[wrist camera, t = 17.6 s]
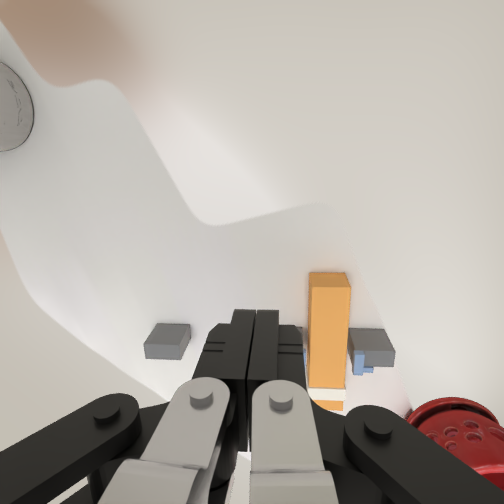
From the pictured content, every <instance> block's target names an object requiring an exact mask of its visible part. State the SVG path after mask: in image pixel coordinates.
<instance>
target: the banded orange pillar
mask: <svg viewBox="0 0 504 504" xmlns="http://www.w3.org/2000/svg"><path fill="white" fill-rule="evenodd" d="M350 295H351V286H350V284H349V282H348V279H347V277H346V275H345V273H309V307H308V346H307V365H306V387H307V392H308V394H309V396H310V397H311V399H312V400H313V401H314V402H315V403H316V404H317V405H319V406H320V407H322V408H323V409H326V410H339V411H343V401H345V396H346V388H345V384H344V383H345V368H346V354H347V339H348V324H349V310H350Z"/></svg>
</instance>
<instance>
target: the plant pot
mask: <svg viewBox="0 0 504 504" xmlns="http://www.w3.org/2000/svg"><path fill="white" fill-rule="evenodd" d="M407 422H408V423H410V424H411V425H412V426H414V427H415V428H417V429H418V430H419V431H421V432H422V433H424V434H425V435H426V436H428V437H429V438H430V439H432V440H433V441H435V442H436V443H437V444H439V445H440V446H442V447H443V448H444V449H446V450H447V451H449V452H450V453H451V454H453V455H454V456H455V457H457V458H458V459H460V460H461V461H462V462H464V463H465V464H467V465H468V466H469V467H471V468H472V469H474V470H475V471H476V472H478V473H479V474H481V475H482V476H483V477H485V478H486V479H487V480H489V481H490V482H492V483H493V484H494V485H496V486H497V487H499V488H500V489H501V490H503V491H504V428H503V427H501V426H500V425H499V423H498V420H497V419H496V417H495V416H494V415H493V414H492V413H491V412H490V411H489V410H488V409H487V408H485V407H484V406H482V405H480V404H479V403H477V402H474V401H471V400H468V399H464V398H458V397H446V398H439V399H435V400H432V401H429V402H427V403H425V404H423V405H421V406H420V407H418V408H417V409H416V410H415V411H414V412H413V413H412V414H411V415H410V416H409V418H408V419H407Z"/></svg>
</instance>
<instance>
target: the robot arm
mask: <svg viewBox="0 0 504 504" xmlns="http://www.w3.org/2000/svg"><path fill="white" fill-rule="evenodd" d="M32 124H33V109H32V103H31V100H30V96H29V94H28V92H27V90H26V88H25V86H24V84H23V83H22V81H21V80H20V78H19V77H18V76H17V75H16V74H15V73H14V72H13V71H12V70H11V69H10V68H9V67H7V66H6V65H4V64H3V63H1V62H0V151H7V150H11V149H14V148H16V147H18V146H19V145H21V144H22V143H23V142H24V141H25V140H26V138H27V137H28V135H29V133H30V131H31V127H32ZM248 440H249V446H250V452H251V471H250V501H249V502H250V503H249V504H504V491H503V490H501V489H500V488H499V487H497V486H496V485H494V484H493V483H492V482H490V481H489V480H487V479H486V478H485V477H483V476H482V475H481V474H479V473H478V472H476V471H475V470H474V469H472V468H471V467H469V466H468V465H467V464H465V463H464V462H462V461H461V460H460V459H458V458H457V457H455V456H454V455H453V454H451V453H450V452H449V451H447V450H446V449H444V448H443V447H442V446H440V445H439V444H437V443H436V442H435V441H433V440H432V439H430V438H429V437H428V436H426V435H425V434H424V433H422V432H421V431H419V430H418V429H417V428H415V427H414V426H412V425H411V424H410V423H408V422H407V421H405V420H404V419H403V418H401V417H400V416H398V415H397V414H395V413H394V412H392V411H390V410H388V409H386V408H383V407H379V406H374V405H363V406H358V407H356V408H354V409H352V410H351V411H349V412H348V414H347V415H346V416H343V415H339V414H336V413H333V412H330V411H328V410H326V409H323V408H322V407H320V406H319V405H317V404H316V403H315V402H314V401H313V400H312V399H311V397H310V396H309V394H308V392H307V387H306V376H305V365H304V355H303V344H302V334H301V333H300V331H299V330H298V329H297V328H296V326H295V325H279V310H257V314H256V310H245V309H235V310H234V313H233V316H232V320H231V324H221V323H219V324H217V325H216V326H215V327H214V328H213V329H212V330H211V331H210V332H209V334H208V337H207V339H206V343H205V345H204V348H203V352H202V353H201V356H200V358H199V361H198V364H197V366H196V369H195V372H194V374H193V377H192V380H190V381H188V382H186V383H184V384H183V385H181V386H180V387H179V388H178V389H177V390H176V392H175V394H174V395H173V397H172V399H171V401H170V402H167V403H164V404H160V405H156V406H152V407H146V408H141V409H139V405H138V402H137V400H136V399H135V398H134V397H132V396H130V395H128V394H122V393H117V394H109V395H106V396H103V397H100V398H98V399H96V400H94V401H92V402H90V403H88V404H87V405H85V406H83V407H81V408H79V409H78V410H76V411H74V412H72V413H70V414H69V415H67V416H65V417H63V418H61V419H59V420H58V421H56V422H54V423H52V424H50V425H48V426H47V427H45V428H43V429H41V430H39V431H38V432H36V433H34V434H32V435H30V436H28V437H27V438H25V439H23V440H21V441H19V442H18V443H16V444H14V445H12V446H10V447H9V448H7V449H5V450H3V451H1V452H0V504H47V503H48V502H50V501H51V500H53V499H54V498H55V497H57V496H58V495H60V494H61V493H63V492H64V491H66V490H67V489H69V488H70V487H71V486H73V485H74V484H76V483H77V482H79V481H80V480H81V479H83V478H85V477H86V476H87V480H88V484H87V485H85V486H84V487H83V488H81V489H80V490H79V491H77V492H76V493H74V494H73V495H71V496H70V497H69V498H67V499H66V500H64V501H63V502H62V503H60V504H229V501H230V497H231V493H232V488H233V483H234V470H235V466H236V459H237V453H238V451H241V452H247V449H248Z"/></svg>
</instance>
